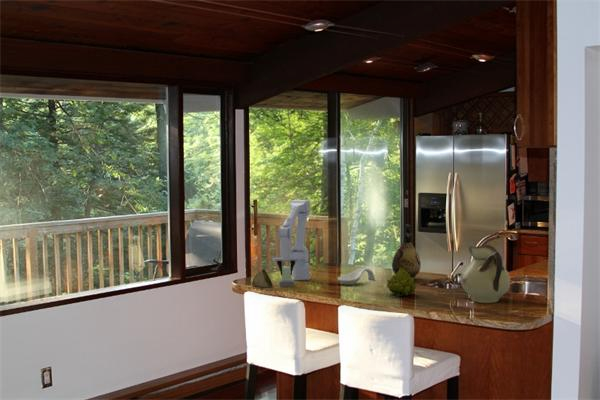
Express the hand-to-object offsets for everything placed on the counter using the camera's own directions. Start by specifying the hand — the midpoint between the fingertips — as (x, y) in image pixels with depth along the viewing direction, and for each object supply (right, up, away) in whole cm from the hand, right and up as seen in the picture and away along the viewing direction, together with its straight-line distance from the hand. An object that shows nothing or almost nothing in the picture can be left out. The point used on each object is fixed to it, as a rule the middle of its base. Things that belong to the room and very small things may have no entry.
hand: (286, 275), depth 386 cm
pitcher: (+94, -7, -48) cm, 106 cm away
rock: (-13, -6, -1) cm, 14 cm away
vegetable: (+57, -7, -32) cm, 66 cm away
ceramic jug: (+66, -4, +11) cm, 67 cm away
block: (0, -2, 0) cm, 2 cm away
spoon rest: (+38, -5, +4) cm, 38 cm away
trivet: (0, -6, 0) cm, 6 cm away
